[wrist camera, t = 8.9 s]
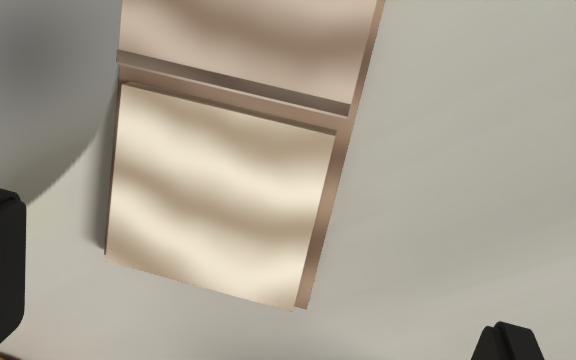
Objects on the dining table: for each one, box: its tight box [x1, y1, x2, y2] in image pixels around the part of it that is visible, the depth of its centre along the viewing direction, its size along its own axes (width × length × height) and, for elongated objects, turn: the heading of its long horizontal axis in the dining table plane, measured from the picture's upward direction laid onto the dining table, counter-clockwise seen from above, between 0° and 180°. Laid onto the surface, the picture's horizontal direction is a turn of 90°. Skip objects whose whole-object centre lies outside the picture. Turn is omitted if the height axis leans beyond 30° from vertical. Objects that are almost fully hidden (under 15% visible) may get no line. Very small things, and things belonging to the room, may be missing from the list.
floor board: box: [104, 0, 385, 309], centre depth 38 cm, size 26×17×3 cm, turn 169°
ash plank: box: [105, 81, 337, 312], centre depth 39 cm, size 14×15×2 cm
